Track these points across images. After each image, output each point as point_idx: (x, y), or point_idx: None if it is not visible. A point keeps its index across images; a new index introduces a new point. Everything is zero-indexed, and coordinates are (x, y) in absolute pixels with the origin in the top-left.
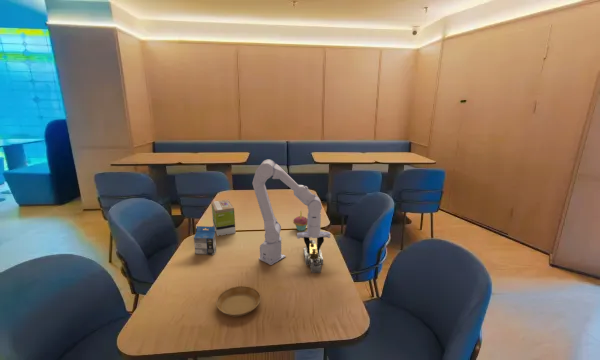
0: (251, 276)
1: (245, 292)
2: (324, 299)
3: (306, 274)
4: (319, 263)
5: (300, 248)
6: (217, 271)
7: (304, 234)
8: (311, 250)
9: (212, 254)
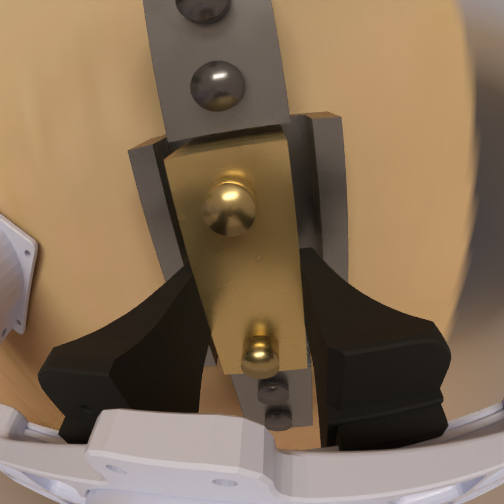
0: (19, 383)
1: None
2: None
3: (224, 401)
4: (304, 409)
5: (109, 64)
6: None
7: (75, 492)
8: (231, 328)
9: None
